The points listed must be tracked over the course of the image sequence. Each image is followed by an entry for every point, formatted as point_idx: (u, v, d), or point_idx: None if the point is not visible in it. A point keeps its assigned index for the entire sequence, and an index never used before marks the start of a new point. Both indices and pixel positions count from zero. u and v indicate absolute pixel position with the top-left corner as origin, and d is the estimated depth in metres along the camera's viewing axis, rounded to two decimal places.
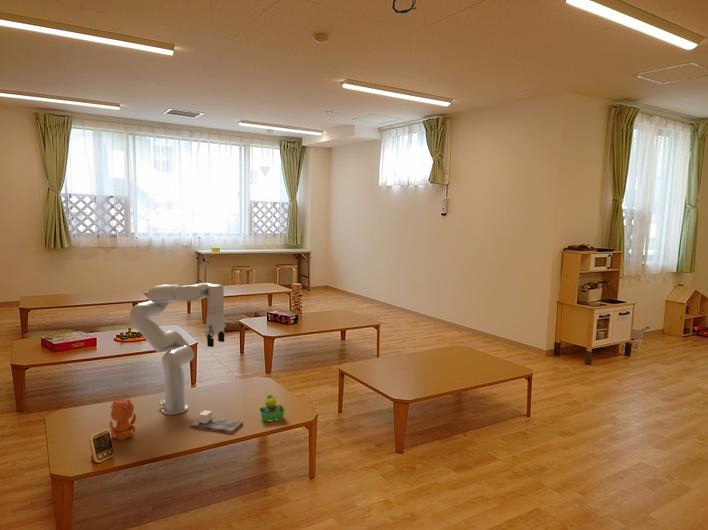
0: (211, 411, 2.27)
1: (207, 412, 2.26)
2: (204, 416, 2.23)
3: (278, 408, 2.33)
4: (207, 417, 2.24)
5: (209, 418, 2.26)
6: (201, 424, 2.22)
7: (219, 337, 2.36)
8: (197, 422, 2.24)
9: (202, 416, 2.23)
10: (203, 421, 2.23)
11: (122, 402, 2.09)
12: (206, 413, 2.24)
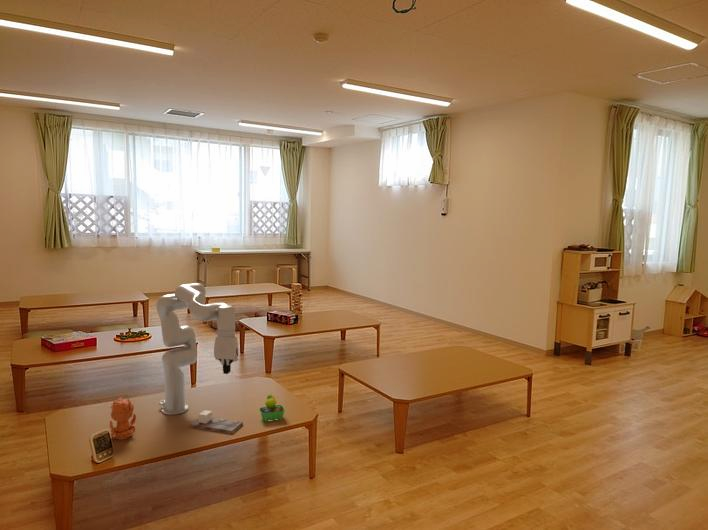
0: (211, 411, 2.27)
1: (207, 412, 2.26)
2: (204, 416, 2.23)
3: (278, 408, 2.33)
4: (207, 417, 2.24)
5: (209, 418, 2.26)
6: (201, 424, 2.22)
7: None
8: (197, 422, 2.24)
9: (202, 416, 2.23)
10: (203, 421, 2.23)
11: (122, 402, 2.09)
12: (206, 413, 2.24)
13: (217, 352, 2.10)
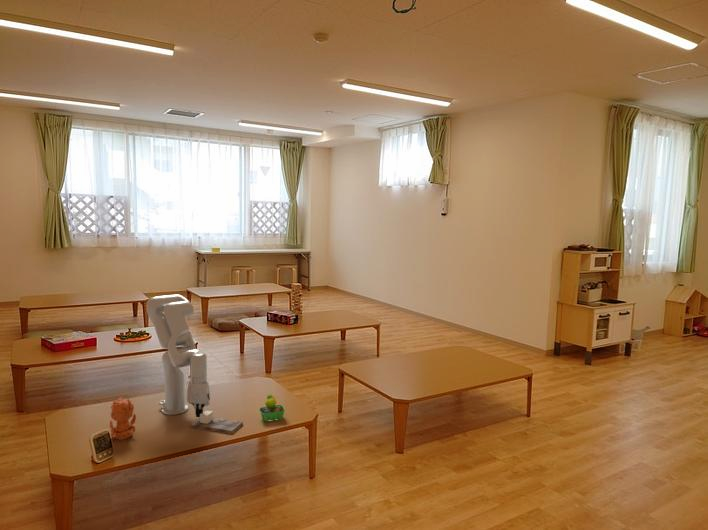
0: (212, 411, 2.27)
1: (208, 412, 2.25)
2: (205, 416, 2.22)
3: (278, 408, 2.33)
4: (208, 417, 2.23)
5: (210, 419, 2.25)
6: (201, 424, 2.22)
7: None
8: (197, 422, 2.24)
9: (203, 416, 2.23)
10: (204, 421, 2.23)
11: (122, 402, 2.09)
12: (207, 413, 2.24)
13: (190, 397, 2.23)
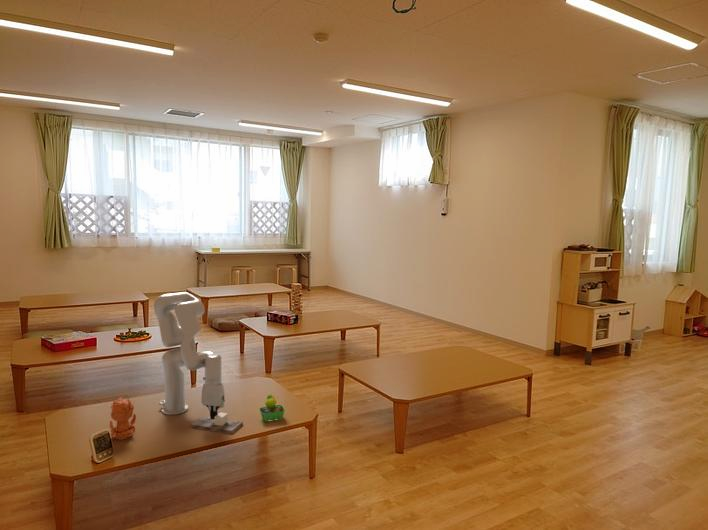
0: (227, 413, 2.25)
1: (223, 414, 2.23)
2: (220, 418, 2.20)
3: (278, 408, 2.33)
4: (223, 419, 2.21)
5: (225, 421, 2.23)
6: (201, 424, 2.22)
7: None
8: (197, 422, 2.24)
9: (218, 418, 2.21)
10: (219, 423, 2.21)
11: (122, 402, 2.09)
12: (222, 415, 2.22)
13: (204, 399, 2.21)
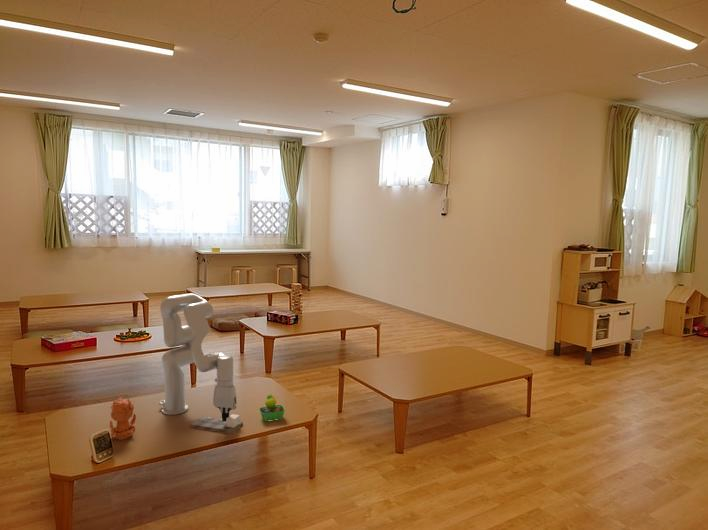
0: (239, 415, 2.23)
1: (235, 416, 2.22)
2: (232, 420, 2.19)
3: (278, 408, 2.33)
4: (235, 421, 2.20)
5: (237, 423, 2.22)
6: (201, 424, 2.22)
7: None
8: (197, 422, 2.24)
9: (230, 420, 2.19)
10: (231, 425, 2.19)
11: (122, 402, 2.09)
12: (234, 417, 2.21)
13: (216, 400, 2.20)
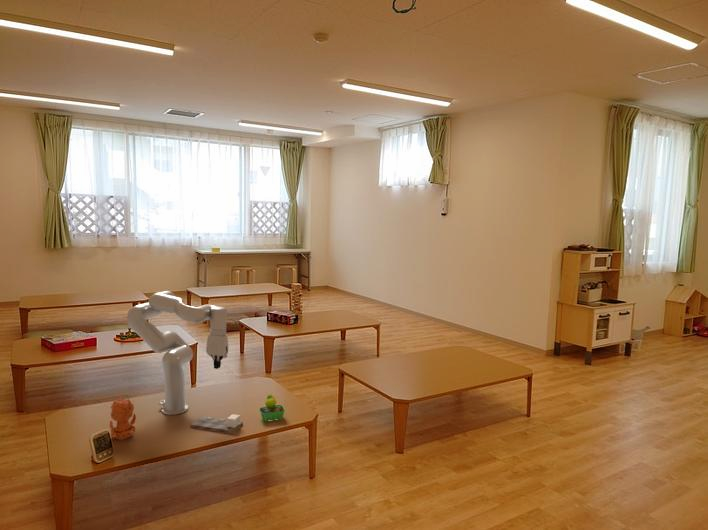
0: (239, 415, 2.23)
1: (235, 416, 2.22)
2: (233, 420, 2.19)
3: (278, 408, 2.33)
4: (235, 421, 2.20)
5: (238, 423, 2.22)
6: (201, 424, 2.22)
7: None
8: (197, 422, 2.24)
9: (230, 420, 2.19)
10: (231, 425, 2.19)
11: (122, 402, 2.09)
12: (234, 417, 2.21)
13: (209, 348, 2.32)
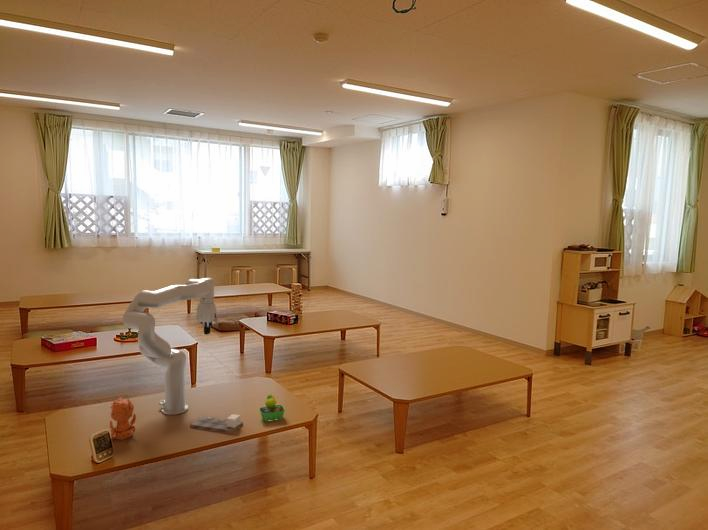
0: (239, 415, 2.23)
1: (235, 416, 2.22)
2: (233, 420, 2.19)
3: (278, 408, 2.33)
4: (235, 421, 2.20)
5: (238, 423, 2.22)
6: (201, 424, 2.22)
7: None
8: (197, 422, 2.24)
9: (230, 420, 2.19)
10: (231, 425, 2.19)
11: (122, 402, 2.09)
12: (234, 417, 2.21)
13: (199, 316, 2.55)
